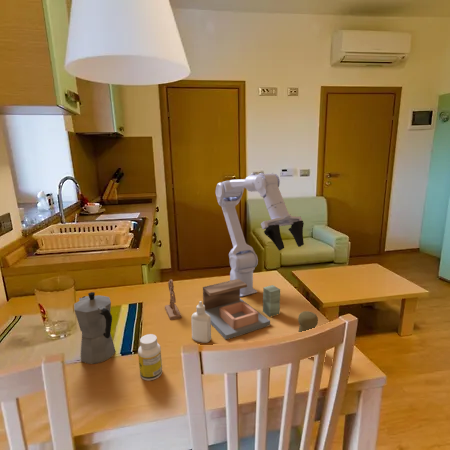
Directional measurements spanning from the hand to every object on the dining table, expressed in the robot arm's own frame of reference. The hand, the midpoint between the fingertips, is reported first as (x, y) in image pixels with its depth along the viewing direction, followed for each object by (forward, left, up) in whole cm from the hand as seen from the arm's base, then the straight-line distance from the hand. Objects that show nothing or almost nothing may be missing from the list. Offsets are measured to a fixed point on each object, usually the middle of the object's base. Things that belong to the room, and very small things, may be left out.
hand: (291, 247), depth 93 cm
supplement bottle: (+1, -45, -26) cm, 51 cm away
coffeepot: (-13, -55, -26) cm, 62 cm away
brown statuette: (-25, -30, -26) cm, 47 cm away
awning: (-17, -14, -24) cm, 32 cm away
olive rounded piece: (+13, -5, -26) cm, 29 cm away
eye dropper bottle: (-6, -28, -26) cm, 38 cm away
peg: (-8, -1, -25) cm, 27 cm away
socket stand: (-11, -14, -25) cm, 31 cm away
